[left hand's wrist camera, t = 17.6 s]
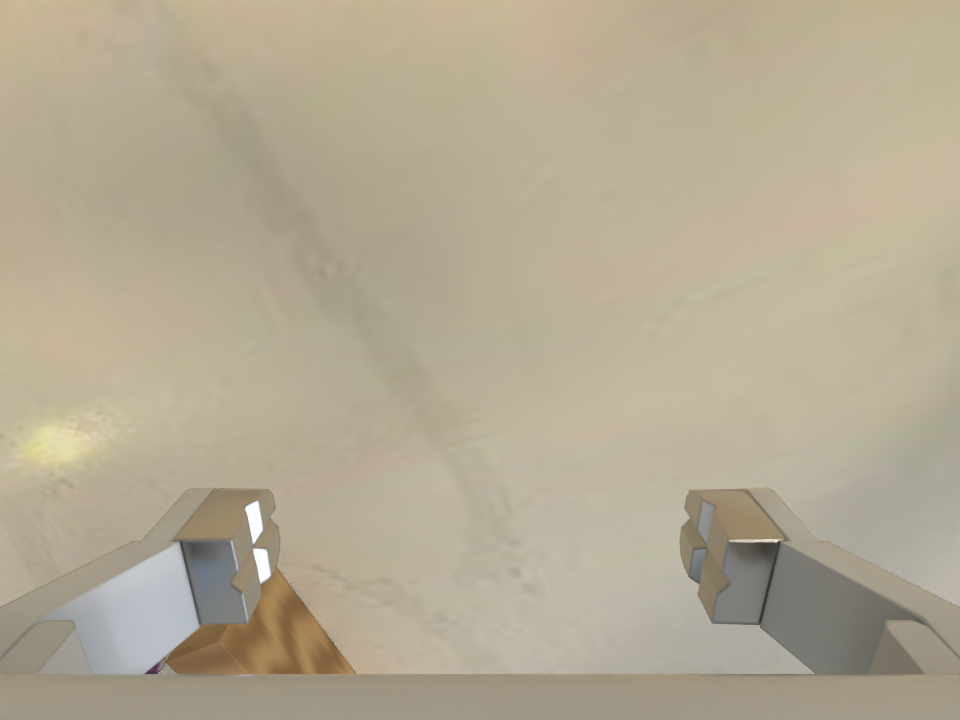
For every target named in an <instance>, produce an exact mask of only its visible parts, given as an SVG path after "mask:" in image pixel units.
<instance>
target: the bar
mask: <svg viewBox="0 0 960 720" xmlns="http://www.w3.org/2000/svg"><path fill="white" fill-rule="evenodd" d="M260 585H261V591H262V596H261V598H260V600H259V602H258V604H257V606H256V608H255V610H254V612H253V614H252V616H251V618H250V620H249V622H248V624H214V625H200V628H199V629H197V630H196V631H195V632H194V633H193V634H191V635H190V636H189V637H188V638H187V639H186V640H184V641H183V642H182V643H181V644H180V645H178V646H177V647H176V648H175V649H174V650H173V651H172V653H171V654H170V656H169V657H168V659H167V661H166V663H167V664H168V665H169V666H170V667H171V668H172V669H173V670H174V671H175V672H176V674H356V673H355V672H354V670H353V669H352V668H351V666H350V665H349V664H348V662H347V661H346V660H345V658H344V657H343V656H342V654H341V653H340V652H339V650H338V649H337V648H336V646H335V645H334V644H333V642H332V641H331V640H330V638H329V637H328V636H327V634H326V633H325V632H324V630H323V629H322V628H321V626H320V625H319V624H318V622H317V621H316V620H315V618H314V617H313V616H312V614H311V613H310V612H309V610H308V609H307V608H306V606H305V605H304V604H303V602H302V601H301V600H300V598H299V597H298V596H297V594H296V593H295V592H294V590H293V589H292V588H291V586H290V585H289V584H288V582H287V581H286V580H285V578H284V577H283V576H282V574H281V573H280V572H279V570H278V569H277V568H275V570H274V572H273V574H272V576H271V577H270V578H269V579H268V580H266V581H265V582H263V583H262V584H260Z"/></svg>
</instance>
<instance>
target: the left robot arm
mask: <svg viewBox="0 0 960 720" xmlns="http://www.w3.org/2000/svg"><path fill="white" fill-rule="evenodd" d="M274 510H275V503H274V498H273V493H272V492H271V491H269V490H268V489H234V488H218V489H216V488H192V489H189V490H186V491H185V492H184V494H183V495H182V496H181V497H180V498H179V499H178V500H177V501H176V503H175V504H174V505H173V506H172V507H171V508H170V509H169V510H168V512H167V513H166V514H165V515H164V516H163V517H162V518H161V519H160V521H159V522H158V523H157V524H156V525H155V526H154V527H153V528H152V530H151V531H150V532H149V533H148V534H147V535H146V536H145V537H144V539H143V540H142V541H132V542H130V543H128V544H126V545H124V546H122V547H120V548H118V549H116V550H114V551H112V552H110V553H108V554H106V555H104V556H102V557H100V558H98V559H96V560H94V561H92V562H90V563H88V564H86V565H84V566H82V567H80V568H78V569H76V570H74V571H72V572H70V573H68V574H66V575H64V576H62V577H60V578H58V579H56V580H54V581H52V582H50V583H48V584H46V585H44V586H42V587H40V588H38V589H36V590H34V591H32V592H30V593H28V594H26V595H24V596H22V597H20V598H18V599H16V600H14V601H12V602H10V603H8V604H6V605H4V606H2V607H0V720H960V607H958V606H956V605H954V604H952V603H950V602H948V601H946V600H944V599H942V598H940V597H938V596H936V595H934V594H932V593H930V592H928V591H926V590H924V589H922V588H920V587H918V586H916V585H914V584H912V583H910V582H908V581H906V580H904V579H902V578H900V577H898V576H896V575H894V574H892V573H890V572H888V571H886V570H884V569H882V568H880V567H878V566H876V565H874V564H872V563H870V562H868V561H866V560H864V559H862V558H860V557H858V556H856V555H854V554H852V553H850V552H848V551H846V550H844V549H842V548H840V547H838V546H836V545H834V544H832V543H830V542H828V541H818V540H817V539H816V537H815V536H814V535H813V534H812V533H811V532H810V531H809V530H808V528H807V527H806V526H805V525H804V524H803V523H802V522H801V521H800V519H799V518H798V517H797V516H796V515H795V514H794V513H793V512H792V510H791V509H790V508H789V507H788V506H787V505H786V504H785V503H784V501H783V500H782V499H781V498H780V497H779V496H778V495H777V494H776V492H775V491H773V490H771V489H769V488H744V489H716V490H689V493H688V495H687V497H686V502H685V510H686V512H687V513H688V515H689V517H690V519H689V520H688V521H687V522H686V523H685V524H684V525H683V526H682V527H681V535H680V551H681V558H682V562H683V565H684V568H685V570H686V572H687V574H688V576H689V577H690V578H691V579H692V580H694V581H695V582H697V583H698V584H700V585H699V591H698V596H699V598H700V600H701V602H702V604H703V606H704V608H705V610H706V612H707V614H708V616H709V618H710V620H711V622H712V624H745V625H760V628H762V629H763V630H764V631H765V632H766V633H768V634H769V635H770V636H771V637H772V638H774V639H775V640H776V641H777V642H778V643H779V644H781V645H782V646H783V647H784V648H785V649H787V650H788V651H789V652H790V653H791V654H793V655H794V656H795V657H796V658H797V659H799V660H800V661H801V662H802V663H803V664H805V665H806V666H807V667H808V668H809V669H811V670H812V671H813V672H814V673H815V674H145V673H146V672H147V671H148V670H150V669H151V668H152V667H153V666H154V665H156V664H157V663H158V662H159V661H160V660H162V659H163V658H164V657H165V656H166V655H168V654H169V653H170V652H171V651H172V650H174V649H175V648H176V647H177V646H178V645H180V644H181V643H182V642H183V641H184V640H186V639H187V638H188V637H189V636H190V635H191V634H193V633H194V632H195V631H196V630H197V629H199V628H200V625H214V624H248V622H249V620H250V618H251V616H252V614H253V612H254V610H255V608H256V606H257V604H258V602H259V600H260V598H261V596H262V591H261V585H260V584H262V583H263V582H265V581H266V580H268V579H269V578H270V577H271V576H272V574H273V572H274V570H275V568H276V566H277V561H278V557H279V552H280V533H279V527H278V526H277V525H276V524H275V523H274V522H273V521H272V520H271V519H270V517H271V515H272V513H273V512H274Z"/></svg>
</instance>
